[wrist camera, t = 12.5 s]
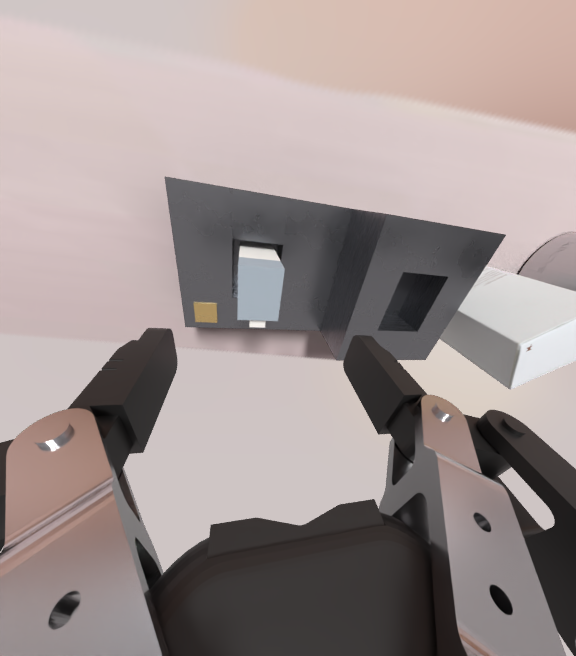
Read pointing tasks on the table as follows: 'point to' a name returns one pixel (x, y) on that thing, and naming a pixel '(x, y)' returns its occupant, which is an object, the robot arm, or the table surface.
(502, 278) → the supplement box
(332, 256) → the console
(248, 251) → the plug
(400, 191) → the table surface
